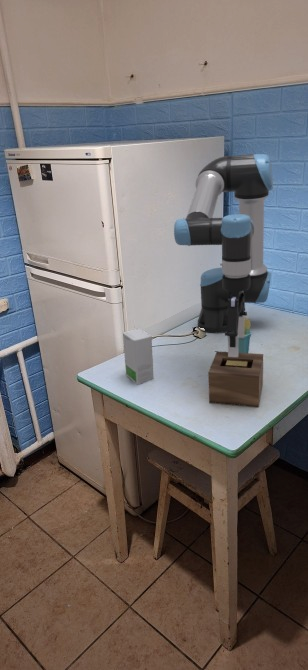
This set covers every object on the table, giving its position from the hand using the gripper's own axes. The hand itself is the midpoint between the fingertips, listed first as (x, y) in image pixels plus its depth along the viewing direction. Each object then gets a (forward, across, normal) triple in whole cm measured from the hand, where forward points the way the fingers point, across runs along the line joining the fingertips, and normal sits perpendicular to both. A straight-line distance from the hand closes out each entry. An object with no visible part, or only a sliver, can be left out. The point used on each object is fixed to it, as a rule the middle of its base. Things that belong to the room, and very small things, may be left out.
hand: (236, 346), depth 134 cm
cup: (+15, -21, -2) cm, 26 cm away
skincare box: (+15, -5, -32) cm, 36 cm away
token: (+14, 0, 0) cm, 14 cm away
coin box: (+15, 0, 0) cm, 15 cm away
